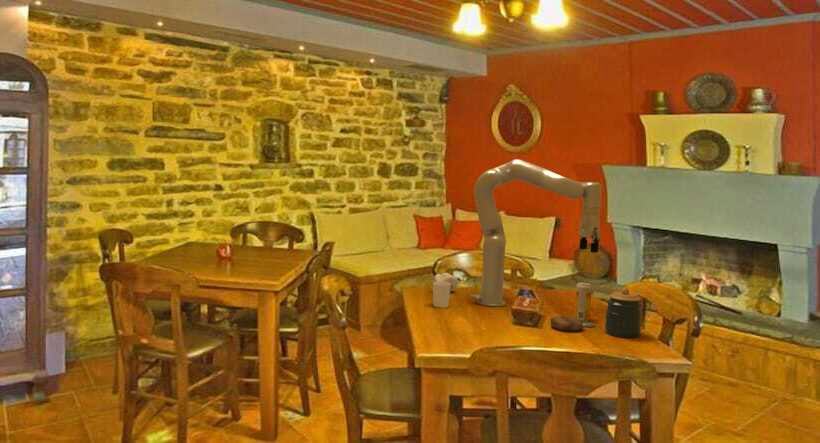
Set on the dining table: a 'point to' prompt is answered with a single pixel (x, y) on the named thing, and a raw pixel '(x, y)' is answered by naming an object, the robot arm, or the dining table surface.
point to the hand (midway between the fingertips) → (588, 250)
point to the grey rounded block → (447, 280)
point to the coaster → (588, 324)
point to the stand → (566, 323)
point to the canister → (623, 314)
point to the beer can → (583, 301)
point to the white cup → (441, 294)
